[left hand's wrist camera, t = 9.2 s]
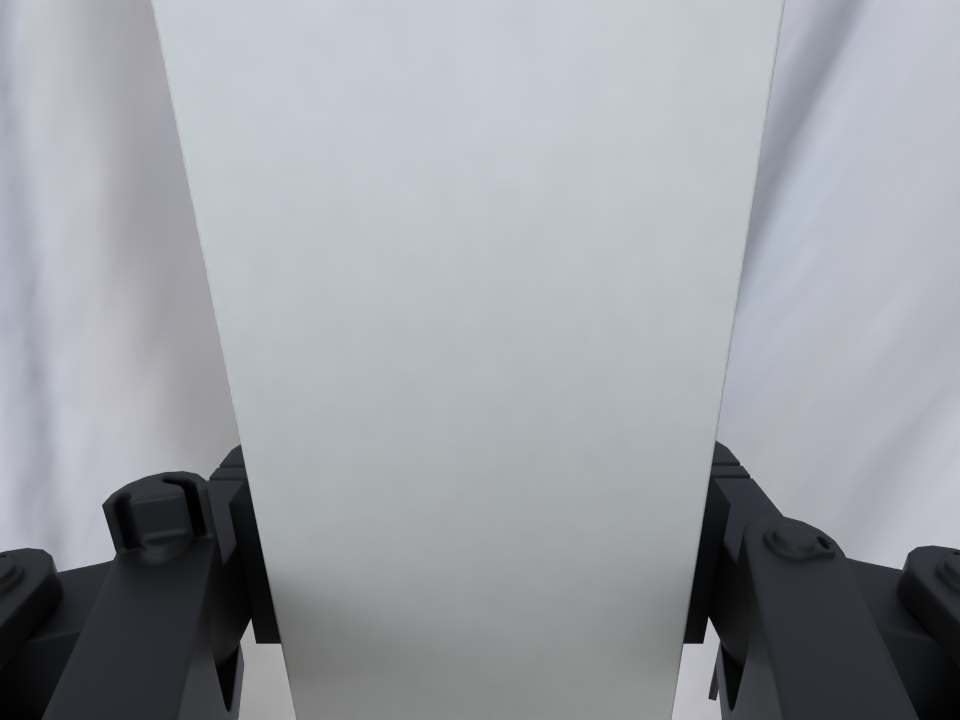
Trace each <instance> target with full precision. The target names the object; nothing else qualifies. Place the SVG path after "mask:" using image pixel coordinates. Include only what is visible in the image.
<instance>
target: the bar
mask: <svg viewBox="0 0 960 720" xmlns="http://www.w3.org/2000/svg"><path fill="white" fill-rule="evenodd" d="M151 2H152V7H153V12H154V17H155V22H156V26H157V31H158V36H159V41H160V46H161V51H162V56H163V61H164V66H165V71H166V76H167V81H168V86H169V91H170V96H171V101H172V106H173V111H174V116H175V120H176V125H177V130H178V135H179V140H180V145H181V150H182V155H183V160H184V165H185V170H186V175H187V180H188V185H189V190H190V195H191V200H192V205H193V210H194V215H195V219H196V224H197V229H198V234H199V239H200V244H201V249H202V254H203V259H204V264H205V269H206V274H207V279H208V284H209V289H210V294H211V299H212V304H213V309H214V313H215V318H216V323H217V328H218V333H219V338H220V343H221V348H222V353H223V358H224V363H225V368H226V373H227V378H228V383H229V388H230V393H231V398H232V403H233V408H234V412H235V417H236V422H237V427H238V432H239V437H240V442H241V447H242V452H243V457H244V462H245V467H246V472H247V477H248V482H249V487H250V492H251V497H252V502H253V506H254V511H255V516H256V521H257V526H258V531H259V536H260V541H261V546H262V551H263V556H264V561H265V566H266V571H267V576H268V581H269V586H270V591H271V596H272V601H273V605H274V610H275V615H276V620H277V625H278V630H279V635H280V640H281V645H282V650H283V655H284V660H285V665H286V670H287V675H288V680H289V685H290V690H291V695H292V699H293V704H294V709H295V714H296V719H297V720H671V719H672V712H673V706H674V700H675V693H676V687H677V681H678V674H679V668H680V662H681V655H682V649H683V643H684V636H685V630H686V624H687V617H688V611H689V605H690V598H691V592H692V586H693V579H694V573H695V567H696V560H697V554H698V548H699V541H700V535H701V529H702V522H703V516H704V510H705V503H706V497H707V491H708V484H709V478H710V472H711V465H712V459H713V453H714V446H715V440H716V434H717V427H718V421H719V415H720V408H721V402H722V396H723V389H724V383H725V377H726V370H727V364H728V358H729V351H730V345H731V339H732V332H733V326H734V320H735V313H736V307H737V301H738V294H739V288H740V282H741V275H742V269H743V263H744V256H745V250H746V244H747V237H748V231H749V225H750V218H751V212H752V206H753V199H754V193H755V187H756V180H757V174H758V167H759V161H760V155H761V148H762V142H763V136H764V129H765V123H766V117H767V110H768V104H769V98H770V91H771V85H772V79H773V72H774V66H775V60H776V53H777V47H778V41H779V34H780V28H781V22H782V15H783V9H784V3H785V0H151Z"/></svg>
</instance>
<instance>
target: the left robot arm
mask: <svg viewBox="0 0 960 720" xmlns="http://www.w3.org/2000/svg"><path fill="white" fill-rule="evenodd" d="M102 507H103V510H104V513H105V517H106V520H107V523H108V527H109V530H110V533H111V537H112V540H113V543H114V547H115V550H116V556H115V558H114V560H112V561H109V562H105V563H101V564H96V565H91V566H87V567H82V568H77V569H72V570H68V571H63V572H57V569H56V566H55V564H54V561H53V558H52V556H51V555H50V554H48V553H47V552H46V551H44V550H41V549H32V548H24V549H18V550H11V551H5V552H1V553H0V720H238V716H239V707H240V698H241V689H242V680H243V671H244V660H243V653H242V649H241V644H240V640H241V638H242V636H243V634H244V632H245V630H246V628H247V626H248V624H249V621H250V619H252V624H253V629H254V634H255V639H256V644H281V640H280V635H279V630H278V625H277V620H276V615H275V610H274V605H273V601H272V596H271V591H270V586H269V581H268V576H267V571H266V566H265V561H264V556H263V551H262V546H261V541H260V536H259V531H258V526H257V521H256V516H255V511H254V506H253V502H252V497H251V492H250V487H249V482H248V477H247V472H246V467H245V462H244V457H243V452H242V447H241V444H240V445H239V446H237V447H236V448H234V449H233V450H231V452H230V453H229V454H228V455H227V457H226V458H225V459H224V460H223V462H222V463H221V464H220V468H217V469H216V470H215V471H214V473H213V474H212V475H211V476H210V480H209V481H206V480H205V479H203V478H202V477H201V476H199V475H198V474H195V473H190V472H185V471H179V472H164V473H160V474H156V475H151V476H147V477H144V478H142V479H139V480H137V481H134V482H132V483H129V484H127V485H126V486H124V487H122V488H121V489H119V490H118V491H116V492H115V493H113V494H112V495H111V496H110V497H109V498H108V499H107V500H106V501H105V503H104V504H103V505H102ZM708 617H709V618H710V620H711V622H712V624H713V626H714V628H715V630H716V632H717V634H718V636H719V638H720V644H719V649H718V653H717V658H716V663H715V667H714V672H713V677H712V681H711V686H710V692H709V698H708V699H711V700H715V701H716V698H717V694H718V689H719V696H720V705H721V715H722V720H960V550H958V549H953V548H947V547H940V546H924V547H917V548H915V549H914V550H913V551H911V552H910V553H908V556H907V559H906V562H905V564H904V567H903V570H899V569H894V568H890V567H885V566H880V565H875V564H870V563H866V562H861V561H856V560H853V559H849V558H846V557H845V555H844V553H843V551H842V550H841V549H840V547H839V546H838V545H837V543H836V542H835V541H834V540H833V539H832V538H830V537H829V536H828V535H826V534H825V533H824V532H822V531H821V530H819V529H817V528H815V527H813V526H811V525H809V524H806V523H804V522H802V521H798V520H795V519H791V518H787V517H784V516H783V515H782V514H781V513H780V512H779V510H778V509H777V508H776V507H775V505H774V504H773V503H772V502H771V500H770V499H769V498H768V497H767V496H766V494H765V493H764V492H763V491H762V489H761V488H760V487H759V486H758V484H757V483H756V482H755V481H754V480H753V479H750V475H749V473H748V472H747V471H746V470H745V469H744V467H743V466H740V462H739V461H738V460H737V459H736V457H735V456H734V455H733V454H732V453H731V451H730V450H729V449H728V448H727V447H725V446H724V445H722V444H721V443H719V442H717V441H716V440H715V446H714V453H713V459H712V465H711V472H710V478H709V484H708V491H707V497H706V503H705V510H704V516H703V522H702V529H701V535H700V541H699V548H698V554H697V560H696V567H695V573H694V579H693V586H692V592H691V598H690V605H689V611H688V617H687V624H686V630H685V636H684V643H683V644H703V642H704V637H705V632H706V627H707V622H708Z"/></svg>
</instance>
